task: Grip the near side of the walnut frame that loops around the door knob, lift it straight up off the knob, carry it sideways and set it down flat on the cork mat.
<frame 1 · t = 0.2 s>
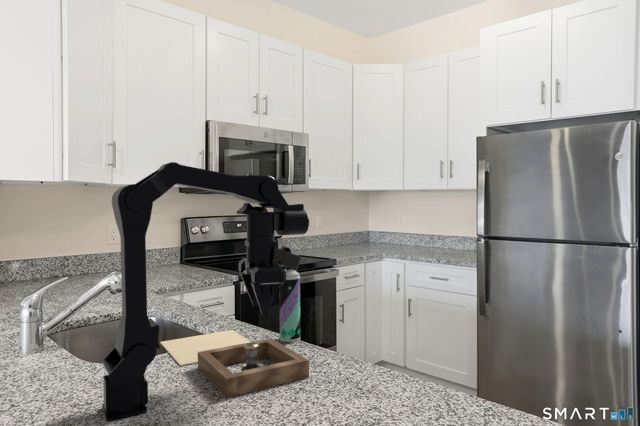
hand: (260, 310, 93), 14 cm above the countertop, fingers open, 9 cm apart
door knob: (251, 372, 96), on the countertop
cork mat: (209, 346, 114), on the countertop
spray can: (290, 339, 119), on the countertop
walnut frame: (251, 372, 96), on the countertop
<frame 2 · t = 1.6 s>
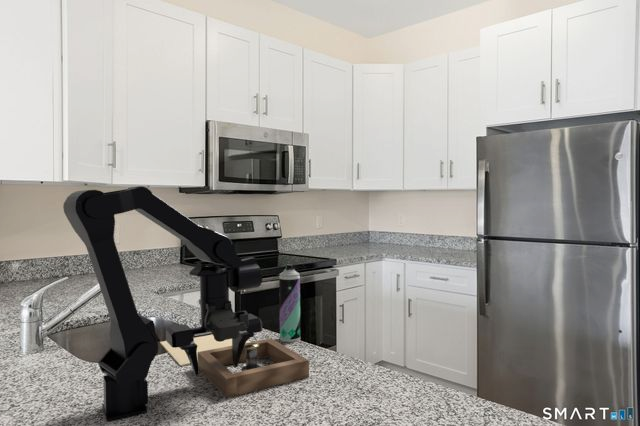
hand: (216, 370, 92), 2 cm above the countertop, fingers open, 8 cm apart
nothing on the countertop moved.
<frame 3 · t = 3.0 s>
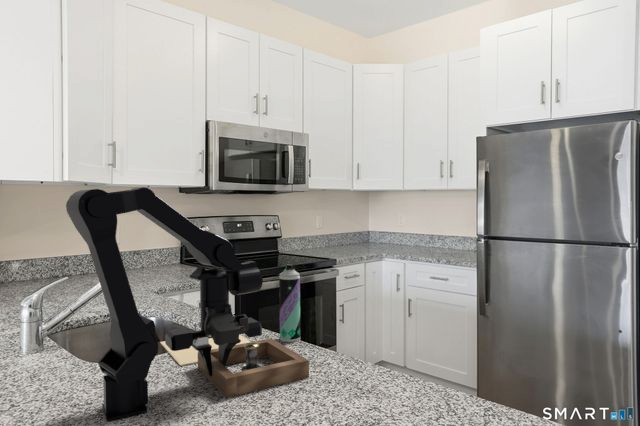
hand: (215, 374, 92), 1 cm above the countertop, fingers closed on walnut frame, 2 cm apart
walnut frame: (251, 372, 96), on the countertop, touching gripper
everything else where it was.
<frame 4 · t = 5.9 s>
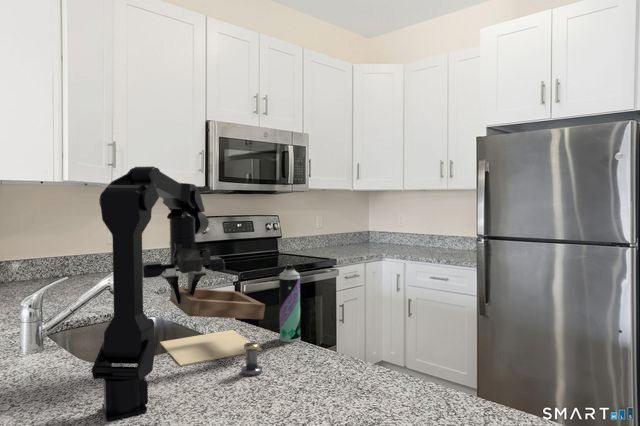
hand: (184, 302, 106), 13 cm above the countertop, fingers closed on walnut frame, 2 cm apart
walnut frame: (215, 309, 110), point 10 cm above the countertop, tilted 10°, touching gripper
everything else where it was.
when the fingers open (2 cm above the countertop, at t = 8.8 s): walnut frame stays where it is, resting on cork mat.
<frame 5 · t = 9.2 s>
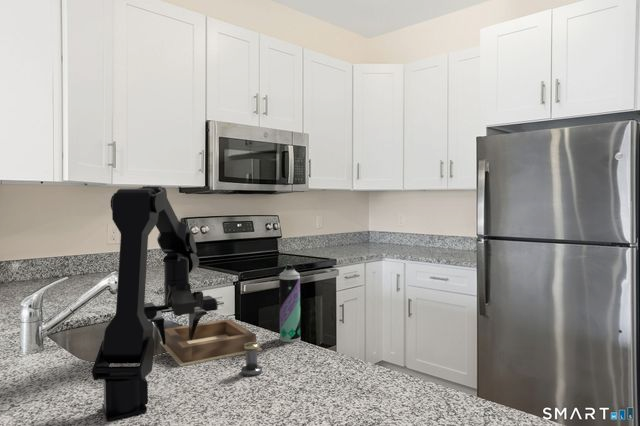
hand: (177, 342, 109), 2 cm above the countertop, fingers open, 6 cm apart
walnut frame: (209, 345, 113), resting on cork mat
everything else where it was.
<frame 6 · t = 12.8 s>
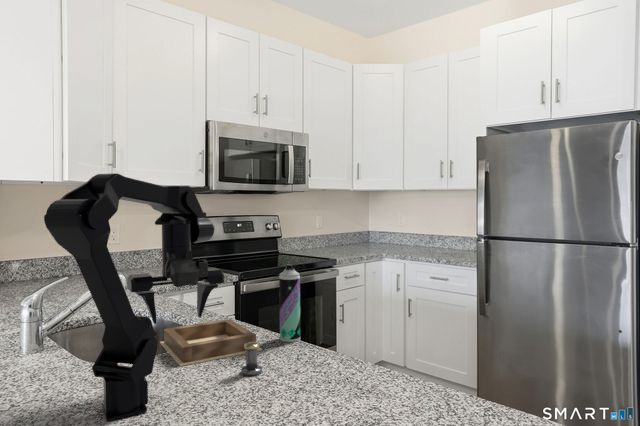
hand: (177, 320, 93), 12 cm above the countertop, fingers open, 9 cm apart
nothing on the countertop moved.
at the end: walnut frame inside the target area (0.2 cm from its centre), resting on cork mat; walnut frame tilted 0°; the gripper is holding nothing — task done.
